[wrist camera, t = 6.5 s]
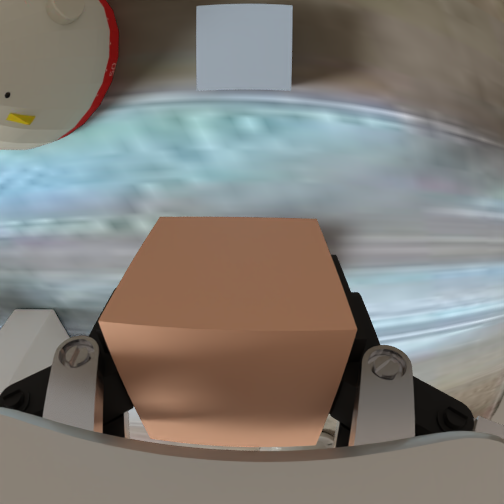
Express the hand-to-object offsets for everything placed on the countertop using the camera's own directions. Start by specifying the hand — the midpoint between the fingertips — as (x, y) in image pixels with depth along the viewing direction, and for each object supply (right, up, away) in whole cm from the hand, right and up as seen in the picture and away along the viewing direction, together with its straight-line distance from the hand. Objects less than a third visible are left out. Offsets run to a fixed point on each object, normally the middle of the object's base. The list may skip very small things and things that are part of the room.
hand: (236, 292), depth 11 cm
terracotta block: (0, 0, 0) cm, 1 cm away
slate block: (0, +15, +8) cm, 16 cm away
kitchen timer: (-16, +16, +7) cm, 24 cm away
